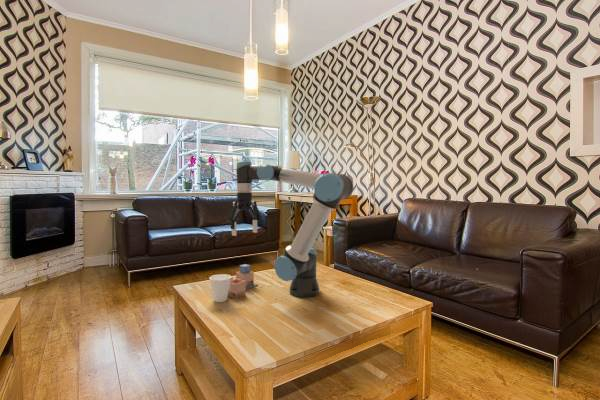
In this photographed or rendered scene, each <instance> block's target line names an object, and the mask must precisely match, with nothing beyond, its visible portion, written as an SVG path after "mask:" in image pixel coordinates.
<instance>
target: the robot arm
mask: <svg viewBox="0 0 600 400" xmlns="http://www.w3.org/2000/svg"><path fill="white" fill-rule="evenodd" d="M235 171H236V192H237V193H236V200H237V202H236V201H232V202H231V208H230V210H229V213H228V216H227V218H226V221H227V222H229V223H230V229H231V236H234V237H236V236H237V235H238V234H237V222H236V221H237V220H238V217H239V216H240V214H241V213H242V212H246V211H248V213H249V214H250V216H251V217H252V218H253V219H252V233H255V234H256V233H258V226H259V220H260V219H261V218H262V216H261V214H260V210H259V207H258V205H257V201H255V200H252V199H253V193H252V191H253V181H276V182H280V183H286V184H290V185H295V186H300V187H304V188H308V189H313V191H314V193H313V195H312V199H313V202H312V204H311V207H310V209H309V210H308V213H307V214H306V216H305V218H304V220H303V221H302V224H301V226H300V228H299V229H298V231H297V233H296V235H295V237H294V239H293V241H292V243H291V244H290V245H287V246H286V248H285V250H284V251H283V252H282V255H280V256H278V257H277V258H276V259H275V260H274V266H273V267H274V268H273V270H274V272H275V274H276V275H277V277H278V278H279V279H280V280H282V281H285V282H290V281H291V283H290V285H289V294H290V296H294V297H297V298H312V296H313V297H316V296H318V295H320V286H319V282H318V279H317V257H318V254H317V249H316V248H314V247H313V245H314V243H315V241H316V240H317V237H318V236H319V234H320V232H321V230H322V228H323V227H324V225H325V223H326V221H327V219H328V218H329V216H330V214H331V212H332V211H335V210H337V208H338V206H339V205H340V203H341V201H342V200H346V199H348V198H349V197H350V196H351V195H352V194H353V191H354V183H353V181H352V179H351V178H350V177H349V176H348V175H347V174H341V173H335V172H328V173H324V174H321V173H315V172H311V171H304V170H299V169H293V168H288V167H282V166H281V165H271V164H265V163H263V164H253V162H251V161H250V160H249V161H248V160H240V161H237V162H236V169H235ZM317 294H318V295H317ZM315 295H316V296H315Z"/></svg>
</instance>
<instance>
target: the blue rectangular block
mask: <svg viewBox="0 0 600 400" xmlns="http://www.w3.org/2000/svg"><path fill="white" fill-rule="evenodd" d="M239 271H240V273H243V274H246V273H249V272H250V271H251V264H246V263H244V264H240V265H239Z"/></svg>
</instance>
